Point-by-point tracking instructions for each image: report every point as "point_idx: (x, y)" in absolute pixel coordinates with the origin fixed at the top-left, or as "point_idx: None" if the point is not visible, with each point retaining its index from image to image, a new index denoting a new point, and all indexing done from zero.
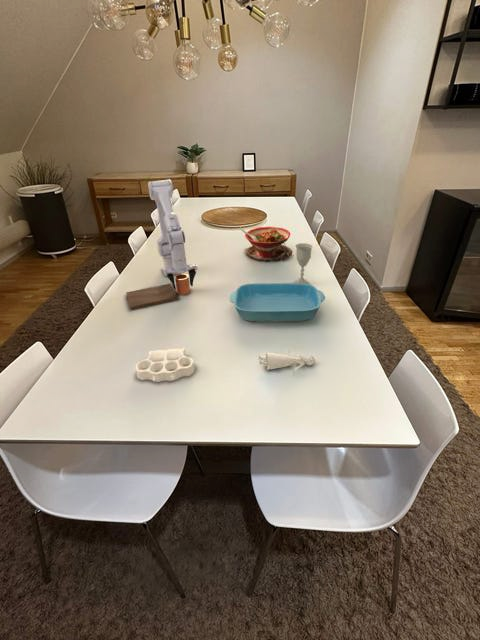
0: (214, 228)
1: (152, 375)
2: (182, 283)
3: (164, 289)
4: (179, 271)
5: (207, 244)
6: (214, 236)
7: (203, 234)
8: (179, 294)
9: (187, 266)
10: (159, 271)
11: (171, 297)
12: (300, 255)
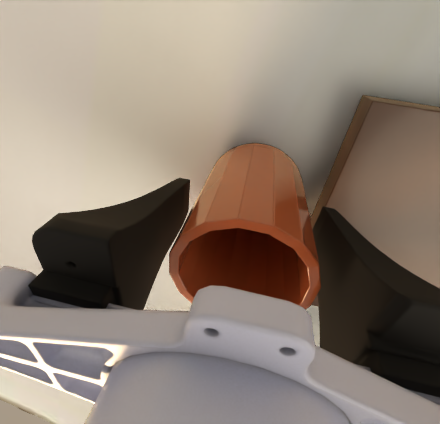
0: (41, 416)
1: None
2: (273, 195)
3: None
4: (305, 364)
5: (61, 390)
6: (41, 400)
7: (69, 416)
8: (298, 171)
9: (98, 383)
10: None
11: (428, 123)
12: None
